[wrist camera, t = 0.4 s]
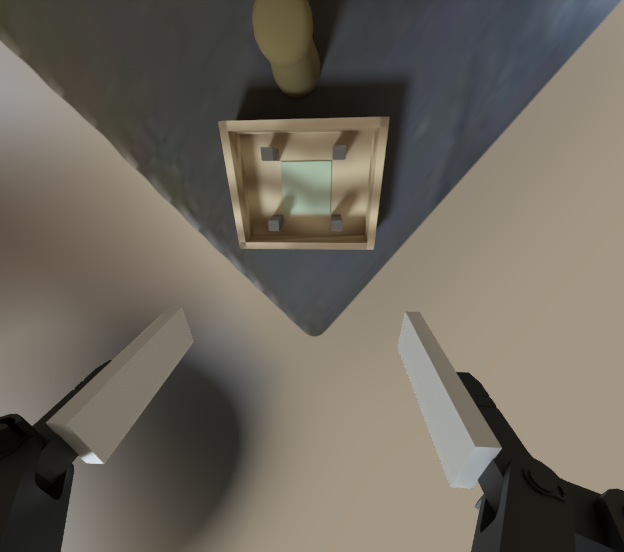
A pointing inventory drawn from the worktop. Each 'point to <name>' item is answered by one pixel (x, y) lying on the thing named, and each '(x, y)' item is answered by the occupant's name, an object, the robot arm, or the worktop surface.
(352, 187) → the socket box
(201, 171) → the worktop surface
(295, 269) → the worktop surface
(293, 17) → the cork
